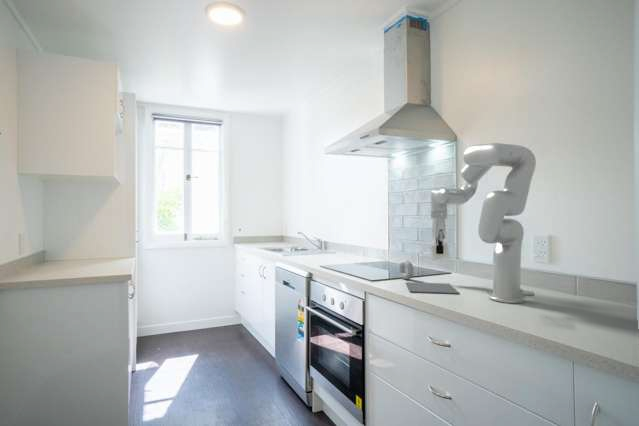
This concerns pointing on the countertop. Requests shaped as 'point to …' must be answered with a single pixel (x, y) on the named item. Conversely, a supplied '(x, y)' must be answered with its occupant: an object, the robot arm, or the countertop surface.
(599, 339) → the countertop surface
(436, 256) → the tile
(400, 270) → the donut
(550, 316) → the countertop surface
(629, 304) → the countertop surface
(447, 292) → the mat
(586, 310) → the countertop surface
